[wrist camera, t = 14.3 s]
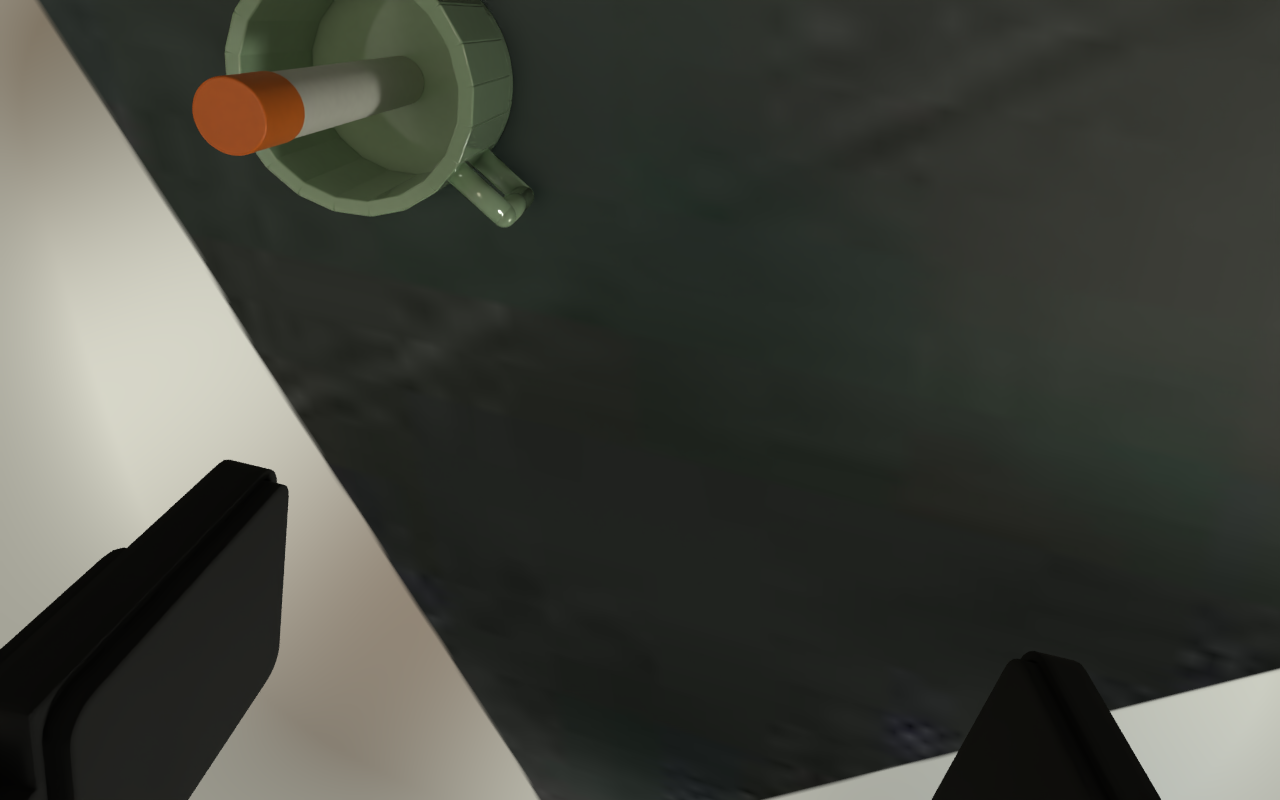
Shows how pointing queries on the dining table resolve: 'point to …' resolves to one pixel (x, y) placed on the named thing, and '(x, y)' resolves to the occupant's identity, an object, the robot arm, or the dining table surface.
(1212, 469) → the dining table surface
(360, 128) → the mug
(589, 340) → the dining table surface
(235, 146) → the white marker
